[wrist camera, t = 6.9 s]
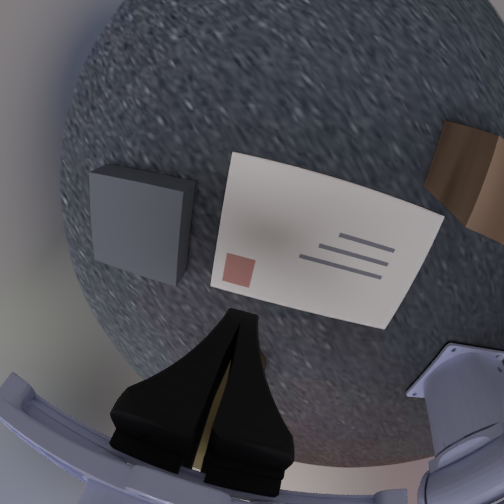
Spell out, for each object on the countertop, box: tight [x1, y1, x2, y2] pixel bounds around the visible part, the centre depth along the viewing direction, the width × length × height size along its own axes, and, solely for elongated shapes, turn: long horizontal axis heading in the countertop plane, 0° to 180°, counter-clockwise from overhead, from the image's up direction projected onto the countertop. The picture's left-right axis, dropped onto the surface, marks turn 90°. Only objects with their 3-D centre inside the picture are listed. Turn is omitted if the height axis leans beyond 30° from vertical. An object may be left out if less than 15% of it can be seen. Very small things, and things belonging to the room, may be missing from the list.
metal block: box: [89, 164, 196, 287], centre depth 19 cm, size 7×7×2 cm
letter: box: [210, 151, 444, 329], centre depth 19 cm, size 14×10×1 cm
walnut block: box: [423, 121, 504, 245], centre depth 12 cm, size 4×4×6 cm
